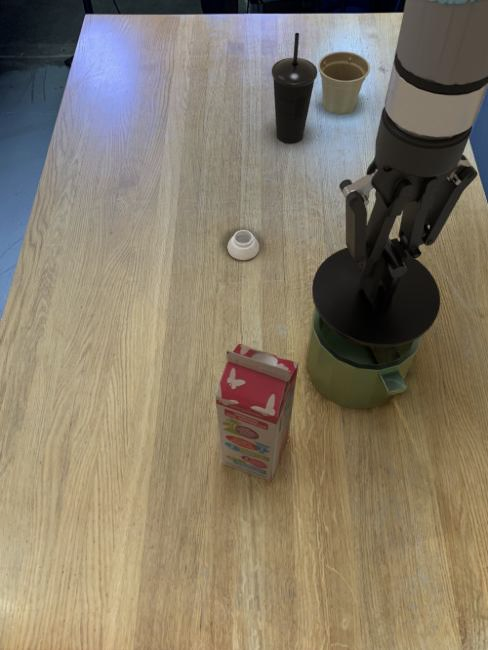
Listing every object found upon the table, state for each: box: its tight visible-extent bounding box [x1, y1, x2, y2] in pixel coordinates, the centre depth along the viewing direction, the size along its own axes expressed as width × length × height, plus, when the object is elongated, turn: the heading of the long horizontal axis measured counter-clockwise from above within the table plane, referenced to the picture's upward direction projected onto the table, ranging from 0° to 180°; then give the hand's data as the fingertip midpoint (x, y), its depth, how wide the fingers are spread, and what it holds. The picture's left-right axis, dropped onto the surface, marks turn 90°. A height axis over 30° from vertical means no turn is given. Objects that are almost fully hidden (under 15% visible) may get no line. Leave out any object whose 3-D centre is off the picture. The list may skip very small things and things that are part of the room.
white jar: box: [226, 229, 260, 261], centre depth 95 cm, size 5×3×5 cm
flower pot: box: [317, 50, 371, 115], centre depth 113 cm, size 9×9×9 cm
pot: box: [305, 307, 424, 410], centre depth 80 cm, size 14×19×10 cm
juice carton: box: [214, 343, 299, 483], centre depth 68 cm, size 7×7×22 cm
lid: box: [311, 236, 441, 349], centre depth 67 cm, size 15×15×9 cm
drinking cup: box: [271, 32, 318, 145], centre depth 103 cm, size 8×8×20 cm
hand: (377, 287), depth 69 cm, fingers closed on lid, 2 cm apart
